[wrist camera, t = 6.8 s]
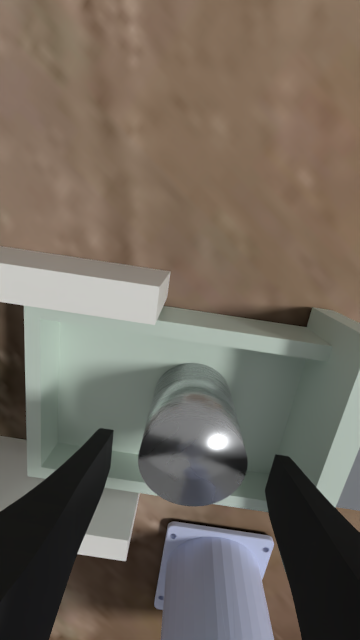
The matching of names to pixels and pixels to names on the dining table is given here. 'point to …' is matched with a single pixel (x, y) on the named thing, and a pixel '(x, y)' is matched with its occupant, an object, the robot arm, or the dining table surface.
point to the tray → (218, 353)
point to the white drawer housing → (89, 299)
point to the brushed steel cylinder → (192, 438)
